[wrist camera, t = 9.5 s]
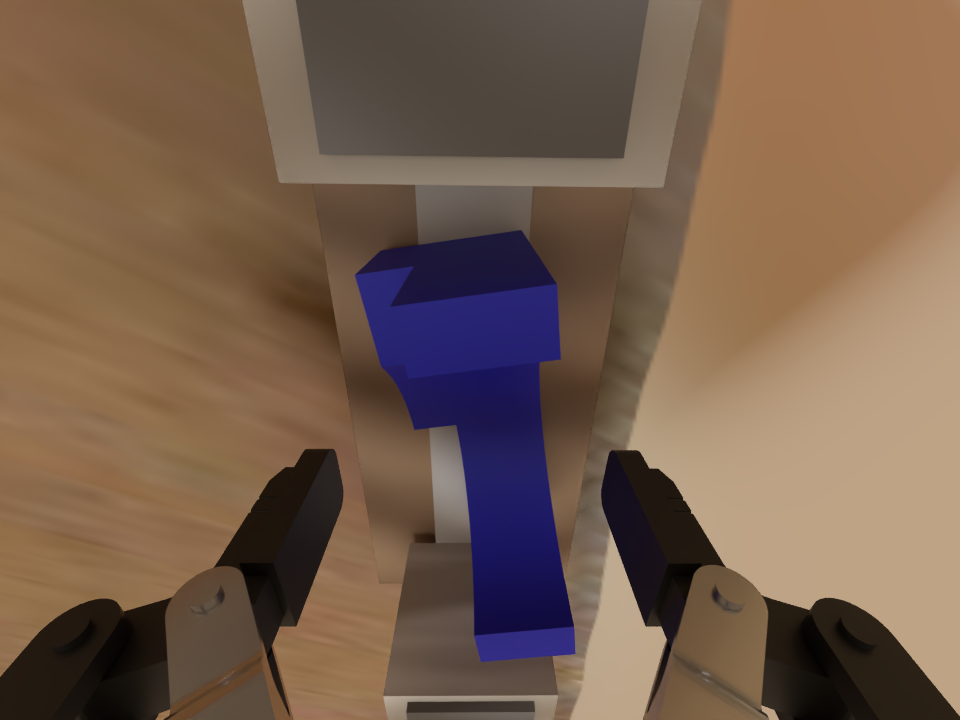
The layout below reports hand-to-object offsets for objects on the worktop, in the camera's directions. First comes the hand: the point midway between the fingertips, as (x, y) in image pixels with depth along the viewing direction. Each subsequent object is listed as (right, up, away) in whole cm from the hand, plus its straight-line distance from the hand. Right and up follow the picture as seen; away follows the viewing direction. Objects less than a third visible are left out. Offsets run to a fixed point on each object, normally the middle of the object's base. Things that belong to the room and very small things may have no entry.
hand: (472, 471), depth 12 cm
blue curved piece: (0, +2, +4) cm, 4 cm away
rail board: (0, +3, +5) cm, 6 cm away
